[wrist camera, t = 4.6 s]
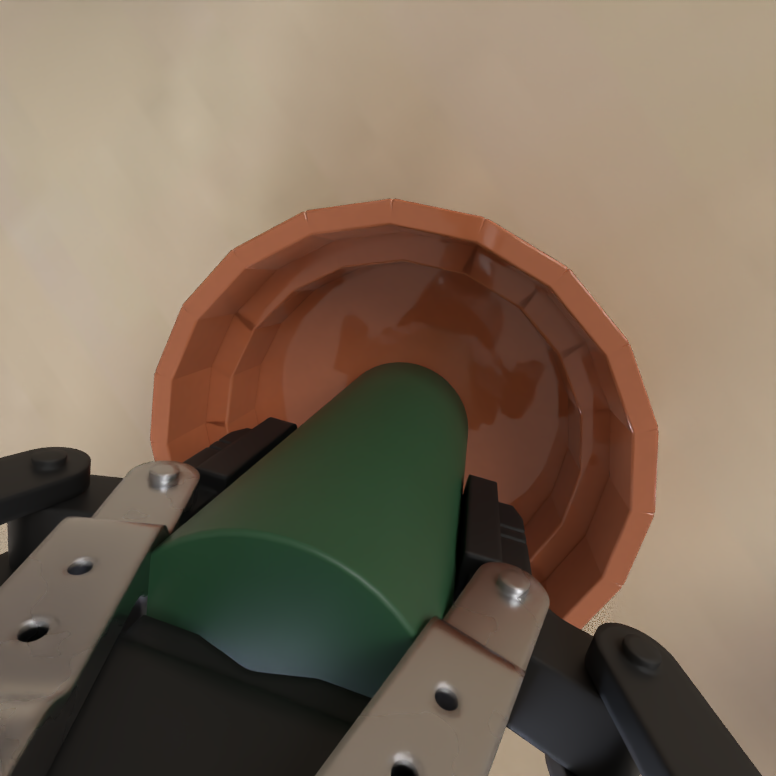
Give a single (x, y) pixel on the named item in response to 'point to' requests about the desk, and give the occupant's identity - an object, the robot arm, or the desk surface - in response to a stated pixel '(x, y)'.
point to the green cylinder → (329, 537)
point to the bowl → (433, 368)
